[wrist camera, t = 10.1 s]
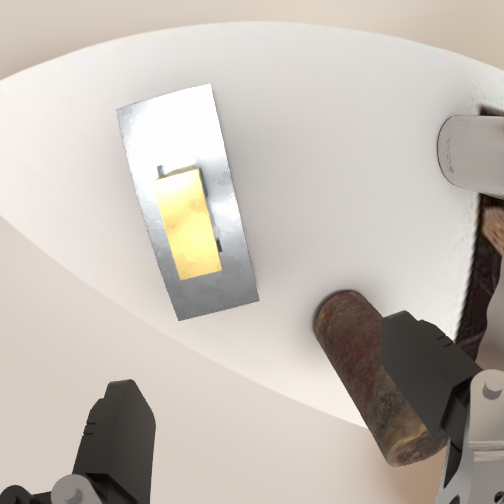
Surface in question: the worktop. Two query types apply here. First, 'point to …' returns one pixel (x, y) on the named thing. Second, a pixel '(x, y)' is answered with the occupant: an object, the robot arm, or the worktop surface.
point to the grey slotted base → (215, 188)
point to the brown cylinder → (372, 379)
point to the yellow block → (187, 222)
